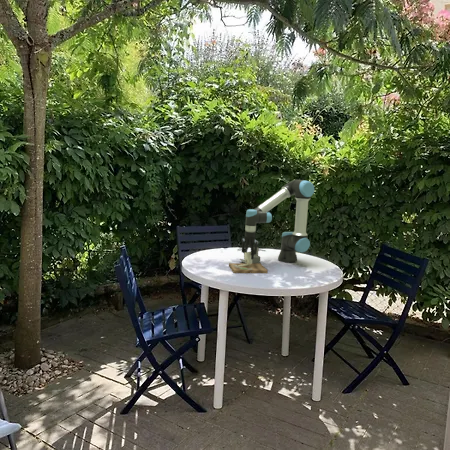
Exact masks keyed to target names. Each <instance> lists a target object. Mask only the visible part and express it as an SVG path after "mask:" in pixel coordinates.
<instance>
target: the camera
mask: <svg viewBox="0 0 450 450" xmlns="http://www.w3.org/2000/svg"><path fill="white" fill-rule="evenodd" d="M259 249H260V248H259V247H258V246H257V253H256V254H255V255H254V259H252V263H261V256H259V251H260V250H259ZM238 260H239V261H241V263H245V259H243V258H239V259H238Z"/></svg>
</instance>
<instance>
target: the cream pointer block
mask: <svg viewBox="0 0 450 450" xmlns="http://www.w3.org/2000/svg"><path fill="white" fill-rule="evenodd" d="M250 255H251V251H247V252H245V253H243V258H244V259H245V260H247V264H244V265H238V267H240V266H250ZM244 259H243V260H244Z"/></svg>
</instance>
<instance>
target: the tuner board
mask: <svg viewBox="0 0 450 450" xmlns="http://www.w3.org/2000/svg"><path fill="white" fill-rule="evenodd" d="M244 264H247V263H244V262H241V263H240V262H239V263H237V262H235V263H233V262H232V263H231V262H229V263H228V267H229V268H230V270H231V271H232V272H233V274H268V269H267V268H265V266H264V265H263V264H262V263H261V262H260V263H252V264H250V266H240V267H238V265H244Z"/></svg>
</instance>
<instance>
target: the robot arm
mask: <svg viewBox="0 0 450 450" xmlns="http://www.w3.org/2000/svg"><path fill="white" fill-rule="evenodd" d="M314 193H315V186H314V184H313V183H312V182H311V181H310V180H303V179H293V180H291V181H289V182H287V183H286V184H284V185H283V186H281V189H279V190H278V191H277V192H276V193H274V194H273V195H271V196H270V197H269V198H268V199H266V200H265V201H264V202H262V203H260V204H259V205H258V206H257V207H255V208H254V209H253V208H252V209H251V208H249V209H247V210H246V212H245V213H246V214H245V225H244V226H245V228H244V230H245V231H244V238H241V239H240V242H241V253H243V254H244V253H245V252H248V249H249V246H250V252H251V255H250V264H252V259H254V255H255V254H256V253H257V247H258V245H259V241H258V240H256V230H257V224H261V223H262V224H265V223H266V224H267V223H271V222H272V220H273V216H272V213H271V212H270V211H271V210H272V209H273V208H274V207H276V206H277V205H279V204H280V203H281V202H283V201H284V200H286V199H287V198H291V197H292V196H294V199H295V200H296V205H295V208H296V209H295V217H294V219H295V220H294V230H293V231H284V232H282V233H281V234H282V235H281V242H280V243H281V245H280V252H279V255H278V256H277V260H278V261H279V262H282V263H288V264H290V263H298V256H297V252H298V253H305V252H307V251H308V250H309V248H310V247H311V241H310V239H308V235H309V234H308V233H307V225H308V208H309V201H310V200H312V199H311V197H312V196H313V195H314ZM245 263H247V260H245Z"/></svg>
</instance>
